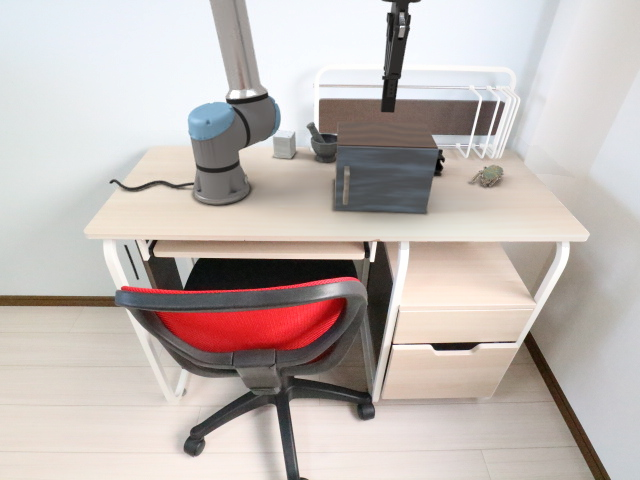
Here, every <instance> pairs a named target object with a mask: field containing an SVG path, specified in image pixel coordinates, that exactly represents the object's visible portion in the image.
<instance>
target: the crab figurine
mask: <svg viewBox="0 0 640 480" xmlns="http://www.w3.org/2000/svg"><path fill="white" fill-rule="evenodd" d="M502 176H505V173H504V169H503V167H501V166H499V165H497V164H492V165H489V166H485V165H484V166H483V169H480V170H478V173H476V174H475V175H474V177H473V178H472V179H471V181H470V184H473V183H475V182H476V181H477V180H478V179H479V177H480V180H481V183H480V185H481V186H483V187H487V186H488V187H492V186H493V185H494V184H495V183H496V182H497V181H498V180H499V179H500V180H501V178H502Z"/></svg>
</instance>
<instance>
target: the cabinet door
mask: <svg viewBox="0 0 640 480" xmlns="http://www.w3.org/2000/svg"><path fill="white" fill-rule="evenodd" d="M439 149H440V148H438V149H436V148H403V147H370V146H338V148H337V170H336V169H335V173H336V192H335V191H334V211H351V212H377V213H379V212H380V213H382V212H384V213H404V214H405V213H407V214H409V213H410V214H426V213H427V210H428V209H427V208H428V205H429V199H430V196H431V190H432V185H433V180H434V177H435V176H434V172H435V167H436V162H437V157H438V153H439Z"/></svg>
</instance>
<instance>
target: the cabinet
mask: <svg viewBox="0 0 640 480" xmlns="http://www.w3.org/2000/svg"><path fill="white" fill-rule="evenodd" d="M336 135H337V148H338V146H370V147H403V148H436V149H439V146H438V144H437V142H436V140H435V139H434V136H433V135H432V133H431V130H430V129H429V127H428V125H427V123H418V122H417V123H413V122H379V121H376V122H375V121H346V120H345V121H344V120H343V121H340V120H337V129H336ZM336 170H337V149H336V154H335V171H336ZM334 176H335V177H334V193H335V192H336V172H335V174H334Z"/></svg>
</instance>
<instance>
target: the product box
mask: <svg viewBox="0 0 640 480" xmlns="http://www.w3.org/2000/svg"><path fill="white" fill-rule="evenodd" d="M296 139H297V138H296V131H292V130H283V129H282V130H281V129H278V130H277V132H276V133H275V134H274V135H273V136H272V144H273V157H274V158H277V159H280V158H281V159H289V160H291V159H292V158H293V157H294V155H295V154H296V152H297V145H296V144H297V141H296Z"/></svg>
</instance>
